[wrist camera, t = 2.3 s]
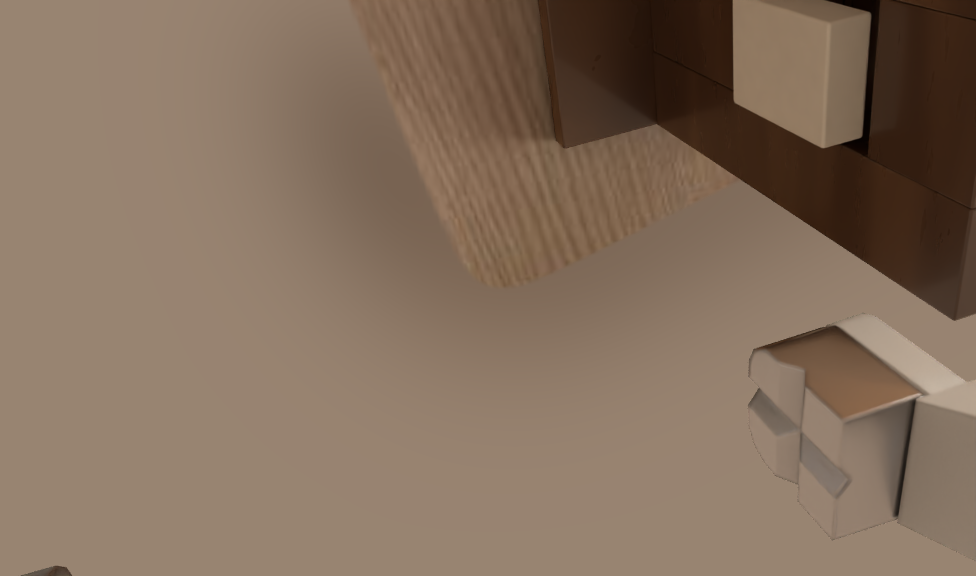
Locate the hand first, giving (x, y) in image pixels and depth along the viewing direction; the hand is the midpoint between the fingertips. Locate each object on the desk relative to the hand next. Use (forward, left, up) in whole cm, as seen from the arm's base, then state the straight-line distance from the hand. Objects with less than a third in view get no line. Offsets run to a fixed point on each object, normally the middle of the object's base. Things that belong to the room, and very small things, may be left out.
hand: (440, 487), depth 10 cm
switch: (+13, -1, -14) cm, 19 cm away
